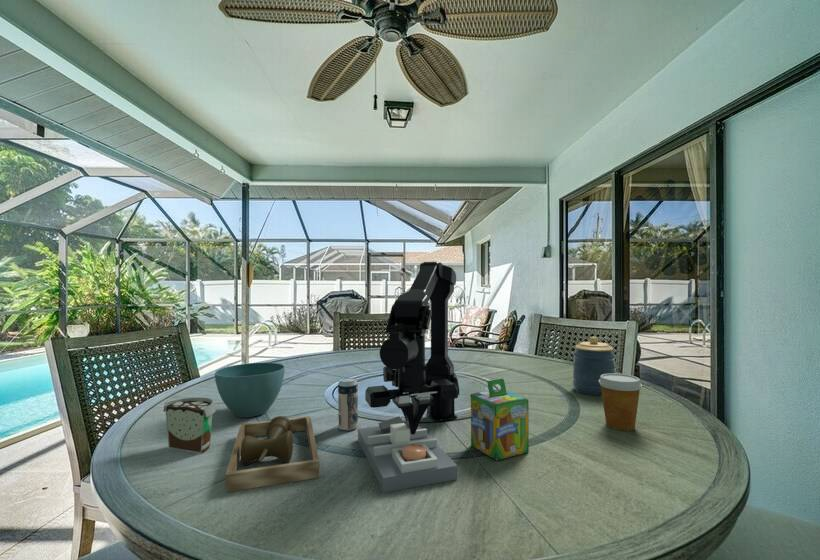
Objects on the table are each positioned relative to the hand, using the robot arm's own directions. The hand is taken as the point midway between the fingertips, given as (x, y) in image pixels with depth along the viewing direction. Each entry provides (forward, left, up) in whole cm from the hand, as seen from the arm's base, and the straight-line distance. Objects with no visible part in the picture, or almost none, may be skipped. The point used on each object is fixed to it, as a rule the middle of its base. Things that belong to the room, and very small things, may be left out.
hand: (412, 433), depth 83 cm
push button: (+2, +8, -2) cm, 8 cm away
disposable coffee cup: (-54, +1, -5) cm, 54 cm away
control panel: (+2, 0, -5) cm, 5 cm away
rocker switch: (+2, -8, -1) cm, 8 cm away
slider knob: (+3, 0, -2) cm, 3 cm away
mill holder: (+27, -10, -5) cm, 29 cm away
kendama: (+28, -11, -5) cm, 31 cm away
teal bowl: (+34, -41, -5) cm, 54 cm away
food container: (+44, -21, -5) cm, 49 cm away
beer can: (+10, -20, -5) cm, 23 cm away
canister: (-71, -26, -5) cm, 76 cm away
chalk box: (-19, +3, -5) cm, 20 cm away
